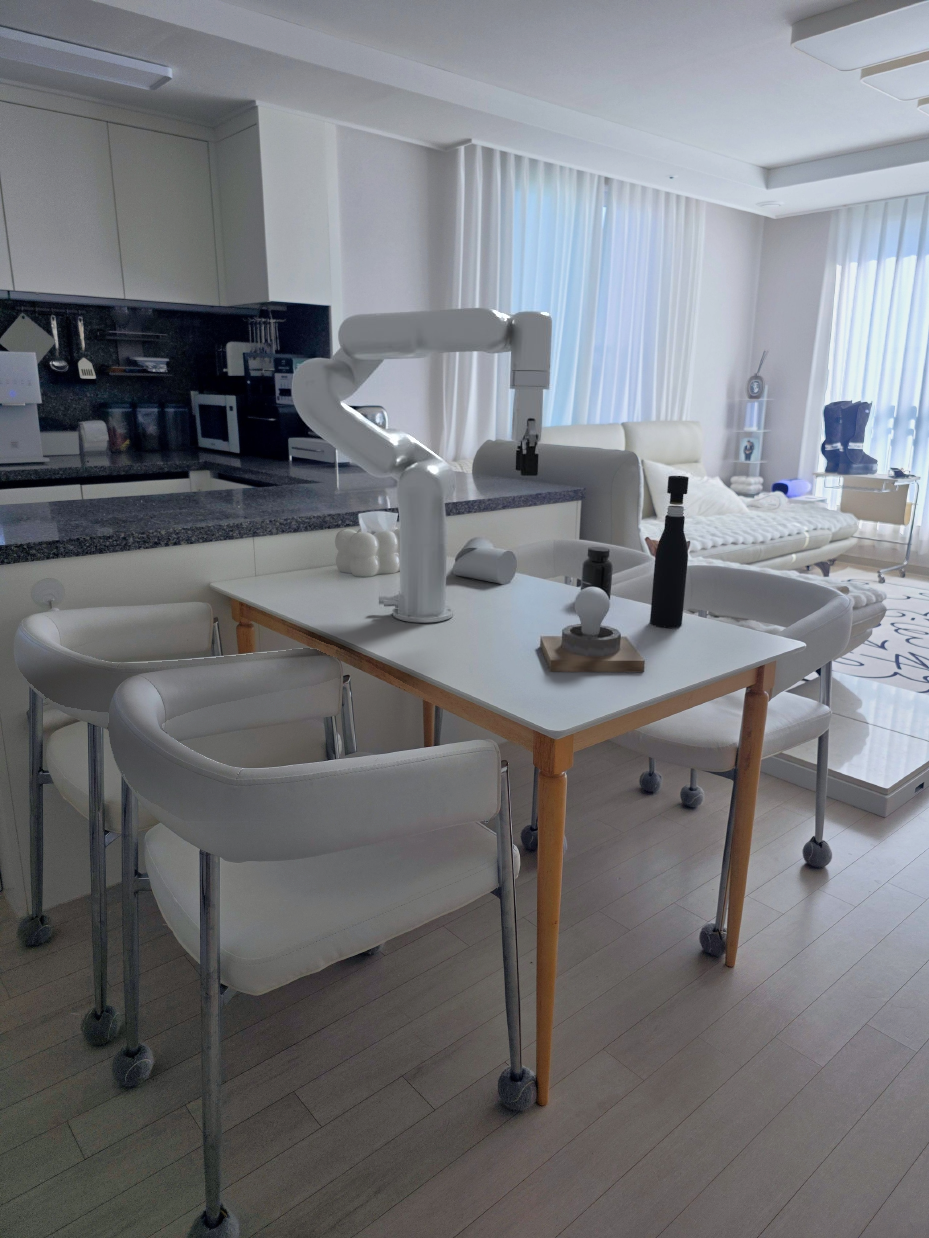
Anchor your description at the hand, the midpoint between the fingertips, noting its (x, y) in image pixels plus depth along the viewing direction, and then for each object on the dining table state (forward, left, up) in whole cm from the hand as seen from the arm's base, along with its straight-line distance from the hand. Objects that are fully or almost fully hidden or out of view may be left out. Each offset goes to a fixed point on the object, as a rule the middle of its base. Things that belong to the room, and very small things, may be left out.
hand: (526, 472), depth 160 cm
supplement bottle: (+19, +19, -31) cm, 41 cm away
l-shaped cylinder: (-5, +44, -31) cm, 54 cm away
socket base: (+10, -23, -30) cm, 39 cm away
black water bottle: (+30, 0, -31) cm, 43 cm away
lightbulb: (+10, -23, -28) cm, 38 cm away
